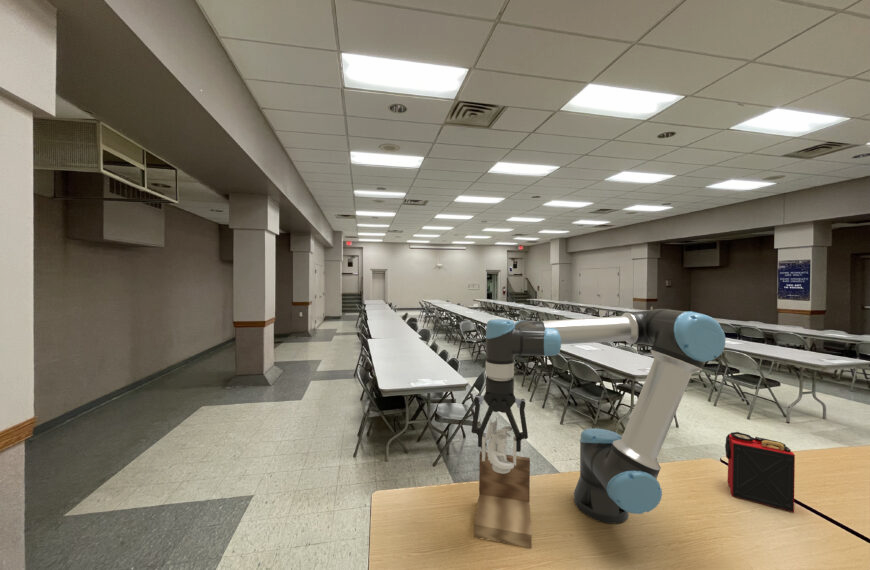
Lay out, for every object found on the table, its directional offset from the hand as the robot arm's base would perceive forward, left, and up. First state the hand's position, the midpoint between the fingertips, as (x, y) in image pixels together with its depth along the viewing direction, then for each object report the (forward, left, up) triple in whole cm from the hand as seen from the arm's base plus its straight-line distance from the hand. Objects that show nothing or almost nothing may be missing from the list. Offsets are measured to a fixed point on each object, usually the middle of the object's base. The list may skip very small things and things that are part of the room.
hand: (499, 460), depth 90 cm
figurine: (0, 0, -1) cm, 1 cm away
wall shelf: (-1, -6, -21) cm, 22 cm away
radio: (-81, -38, -21) cm, 92 cm away
